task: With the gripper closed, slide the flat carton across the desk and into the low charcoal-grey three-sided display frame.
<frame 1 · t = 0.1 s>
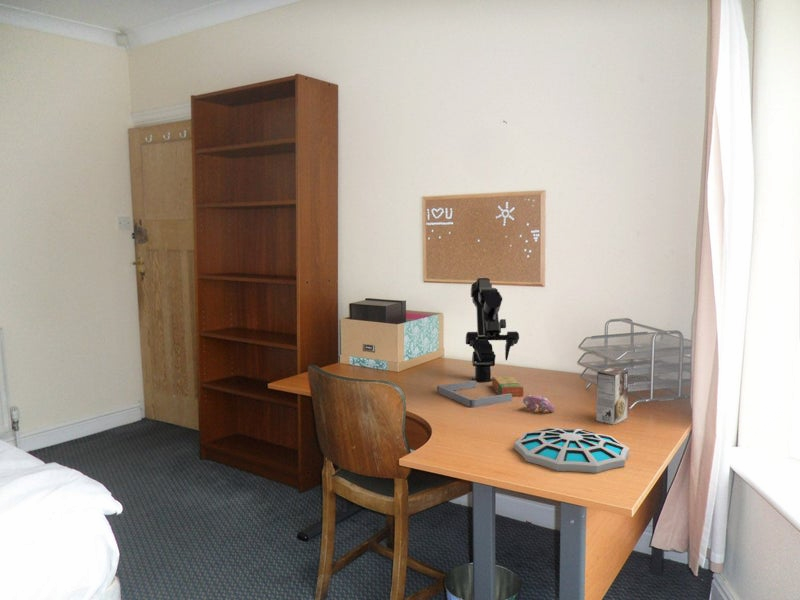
hand: (493, 360, 218), 15 cm above the table, tool tilted 35°, fingers open, 9 cm apart
video game controller: (538, 411, 207), on the table
carton: (507, 392, 233), on the table
coffee box: (611, 420, 197), on the table
display frame: (474, 396, 227), on the table
decorative platform: (570, 454, 169), on the table
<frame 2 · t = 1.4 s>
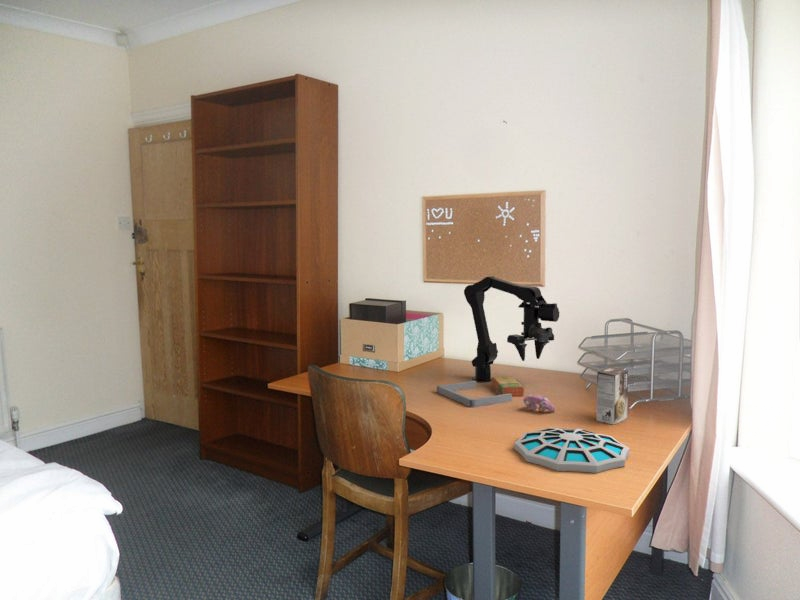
hand: (530, 359, 237), 11 cm above the table, tool pointing down, fingers open, 7 cm apart
nothing on the table moved.
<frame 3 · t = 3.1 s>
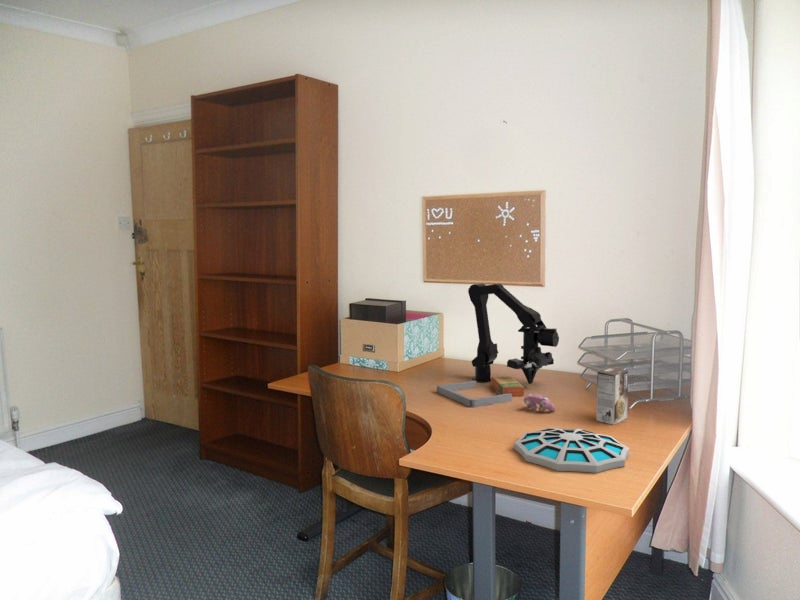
hand: (530, 383, 238), 2 cm above the table, tool pointing down, fingers closed
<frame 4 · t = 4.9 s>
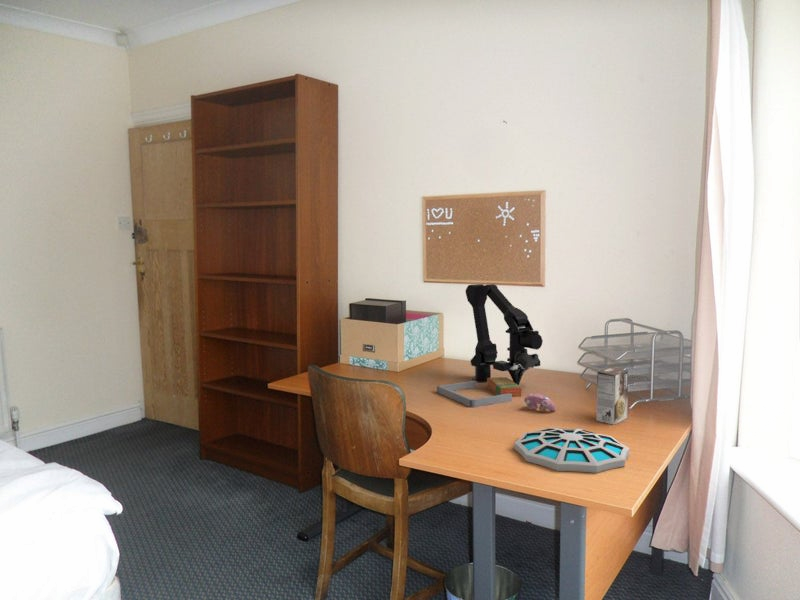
hand: (516, 385, 235), 2 cm above the table, tool pointing down, fingers closed
carton: (503, 393, 233), on the table, touching gripper
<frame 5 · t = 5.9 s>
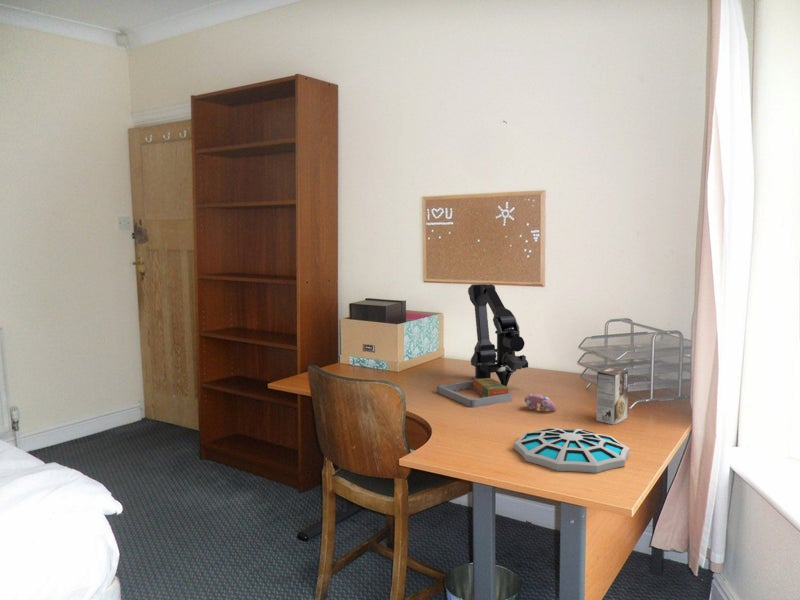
hand: (504, 387, 232), 2 cm above the table, tool pointing down, fingers closed
carton: (490, 394, 232), on the table, touching gripper
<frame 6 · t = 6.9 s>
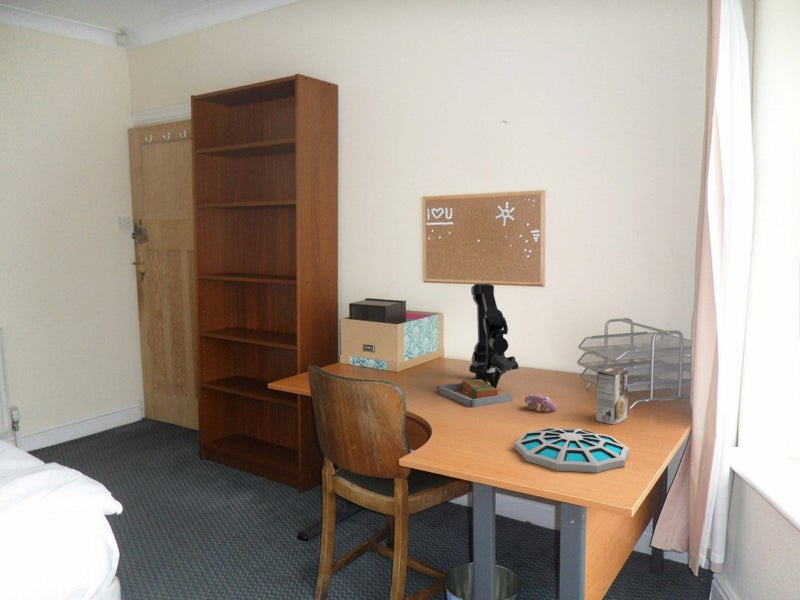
hand: (494, 389, 230), 2 cm above the table, tool pointing down, fingers closed
carton: (479, 396, 230), on the table, touching gripper
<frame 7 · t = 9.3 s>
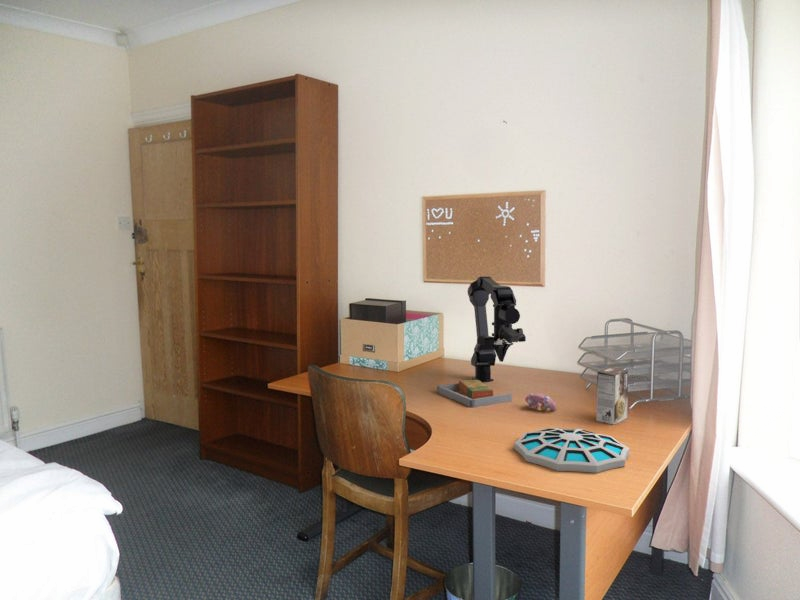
hand: (501, 361, 231), 12 cm above the table, tool pointing down, fingers closed
carton: (475, 396, 229), on the table
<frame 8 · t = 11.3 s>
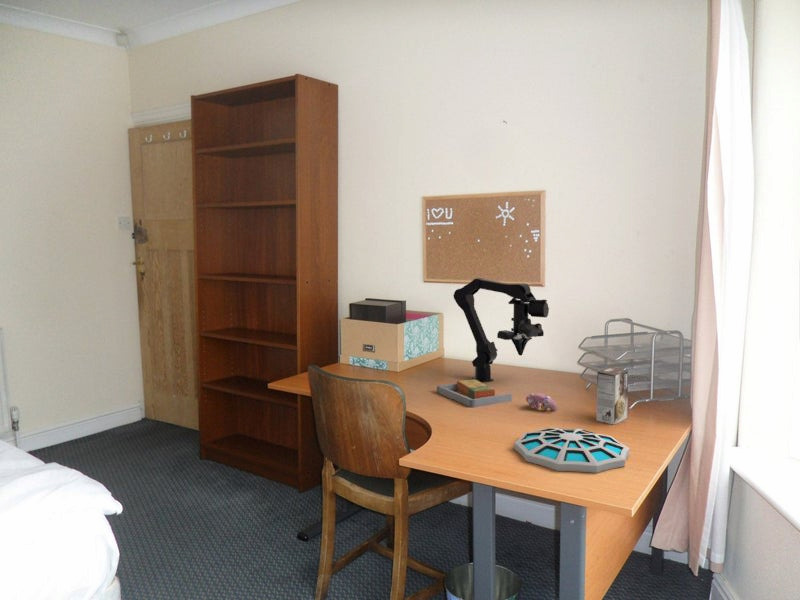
hand: (520, 355, 241), 12 cm above the table, tool pointing down, fingers closed
at the end: carton inside the target area (2.4 cm from its centre), on the table; carton tilted 0° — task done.
